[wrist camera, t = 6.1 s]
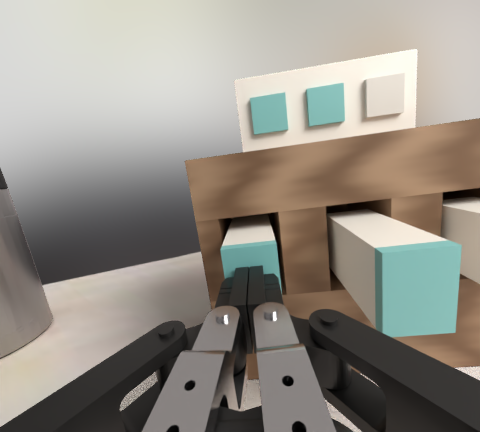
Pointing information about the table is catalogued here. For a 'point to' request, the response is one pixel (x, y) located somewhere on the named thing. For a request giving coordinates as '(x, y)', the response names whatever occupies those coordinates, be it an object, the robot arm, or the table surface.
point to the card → (328, 101)
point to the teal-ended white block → (250, 245)
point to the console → (341, 200)
